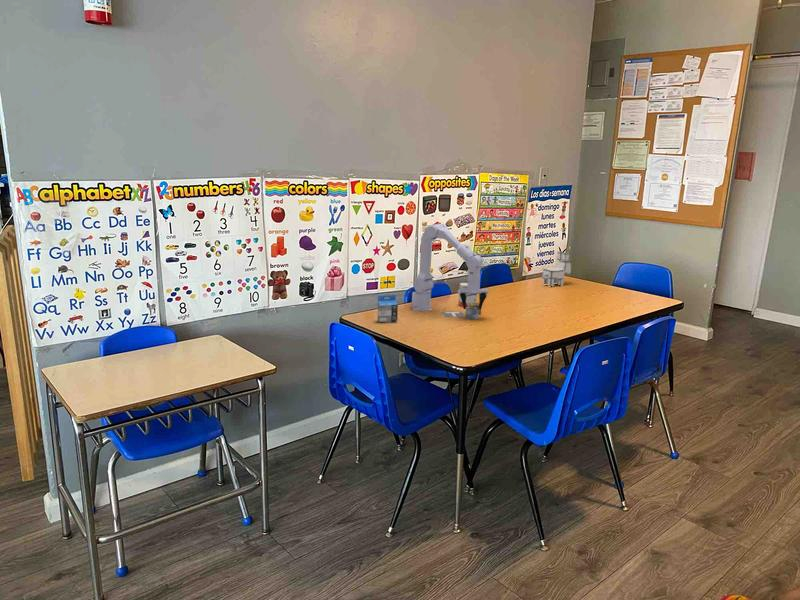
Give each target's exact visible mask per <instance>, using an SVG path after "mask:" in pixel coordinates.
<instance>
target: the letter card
mask: <svg viewBox="0 0 800 600" xmlns="http://www.w3.org/2000/svg"><path fill="white" fill-rule="evenodd" d="M441 313H442V314H443V316H444V317H445V318H466V317H465V316H466V315H465V314H464V313H463V311H441Z"/></svg>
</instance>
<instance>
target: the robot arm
mask: <svg viewBox="0 0 800 600" xmlns="http://www.w3.org/2000/svg"><path fill="white" fill-rule="evenodd" d="M436 239H438V240H441V239H442V240H445V241H446V242H447V243H449V244H450V245H451V246H452V247H453V248H454V249H455V250H456V254H457V255H458V256H459V257H460V258H461V259H462V260H463V261H464V262H465V265H466V266H467V282H466V283H467V289H457V294H458V295H459V294H460V297H461V299H462V303H463V307H462V308H463V310H466V295H465V294H477V295H478V298H479V299H478V300H479V302H478V303H479V309H481V310H482V307H483V304H484V301H485V300H486V298H487V297H488V296H487V295H489V292H490V291H489V289H486V288H480V283H481V267H482V265H483V264H484V260H483V258H482V256H481V255H480V254H476V252H475V251H473V250H472V249H471V248H470V246H469V245H467V244H462V243H461V242H460V241H459V240H458V239H457V238H456V237H455V235H453V233H452V232H451V231H450V229H449V228H448V227H447V226H446V225H445V224H444V223H442V222H441V223H435V224H430V225H427V226H426V227H425V228H424V231H423V234H422V236H421V238H420V253H419V254H420V256H419V257H420V258H419V272H418V274H417V276H416V278H415V281H414V284H413V288H414V290H415V291H412V293H411V294H412V295H411V309H412V311H414V312H418V311H419V312H420V311H421V312H422V311H423V312H424V311H425V312H427V311H431V312H432V311H433V309H432V307H431V299H432V289H433V288H434V286H435V282H434V279H433V278H434V277H433V274H432V273H431V271H432V270H431V269H432V268H431V267H432V250H433V249H432V248H433V242H435V240H436Z"/></svg>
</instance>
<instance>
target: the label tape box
mask: <svg viewBox="0 0 800 600" xmlns="http://www.w3.org/2000/svg"><path fill="white" fill-rule="evenodd" d="M396 297H397V295H396V294H386V295H383V294H382V295H377V322H378V321H379V322H385V323H398V314H399V313H398V312H399V311H398V310H399V308H398V306H399V305H398V302H397V300H396V299H397V298H396ZM379 322H378V323H379Z"/></svg>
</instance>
